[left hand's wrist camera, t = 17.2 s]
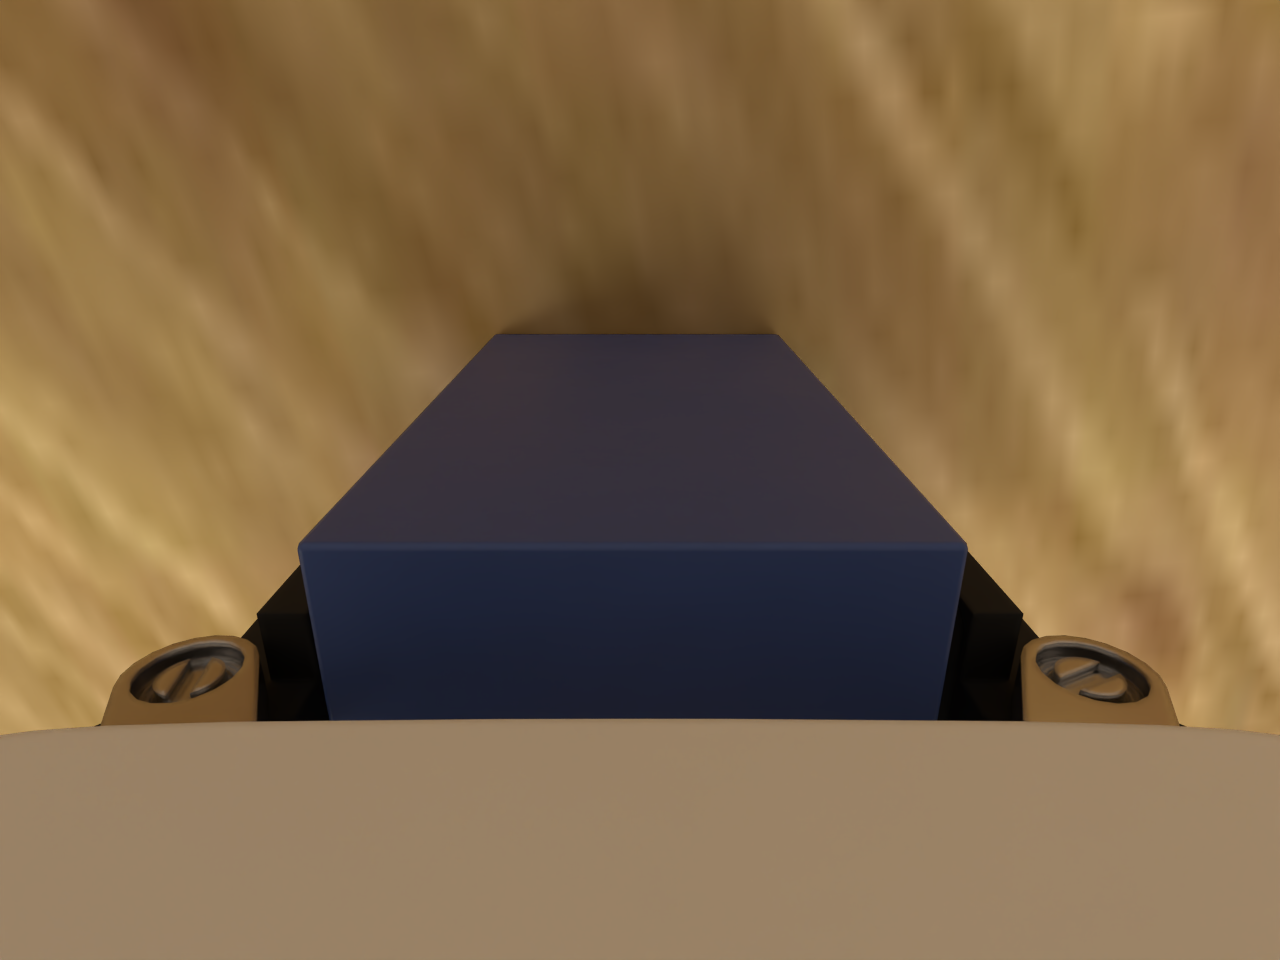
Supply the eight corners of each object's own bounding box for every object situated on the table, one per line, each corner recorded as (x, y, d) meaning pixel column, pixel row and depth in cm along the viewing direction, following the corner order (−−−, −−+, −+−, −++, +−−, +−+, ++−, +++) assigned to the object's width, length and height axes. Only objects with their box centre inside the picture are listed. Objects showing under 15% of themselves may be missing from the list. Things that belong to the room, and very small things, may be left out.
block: (761, 587, 16) (888, 1007, 8) (512, 588, 16) (380, 1007, 8) (778, 333, 14) (972, 544, 6) (494, 333, 14) (292, 543, 6)
